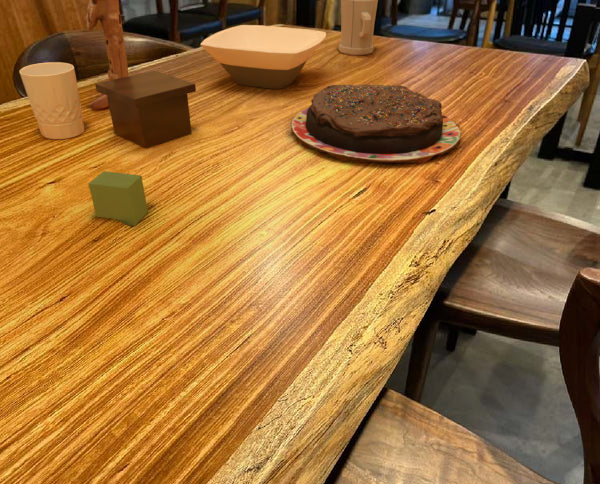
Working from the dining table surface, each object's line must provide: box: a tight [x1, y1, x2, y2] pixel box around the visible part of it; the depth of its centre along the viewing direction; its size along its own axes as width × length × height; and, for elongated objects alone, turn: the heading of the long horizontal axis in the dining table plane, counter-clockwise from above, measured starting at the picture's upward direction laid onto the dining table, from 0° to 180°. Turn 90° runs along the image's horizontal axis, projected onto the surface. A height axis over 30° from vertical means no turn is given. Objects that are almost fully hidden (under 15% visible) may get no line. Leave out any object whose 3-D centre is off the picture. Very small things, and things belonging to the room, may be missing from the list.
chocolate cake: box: [290, 84, 462, 164], centre depth 88 cm, size 28×28×7 cm
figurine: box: [83, 0, 129, 110], centre depth 95 cm, size 11×8×20 cm
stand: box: [94, 70, 197, 149], centre depth 86 cm, size 11×11×8 cm
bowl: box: [199, 24, 327, 90], centre depth 111 cm, size 22×23×8 cm
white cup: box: [18, 61, 85, 140], centre depth 85 cm, size 8×8×10 cm
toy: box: [88, 170, 149, 227], centre depth 65 cm, size 5×4×5 cm
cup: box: [338, 0, 379, 56], centre depth 131 cm, size 10×9×12 cm
